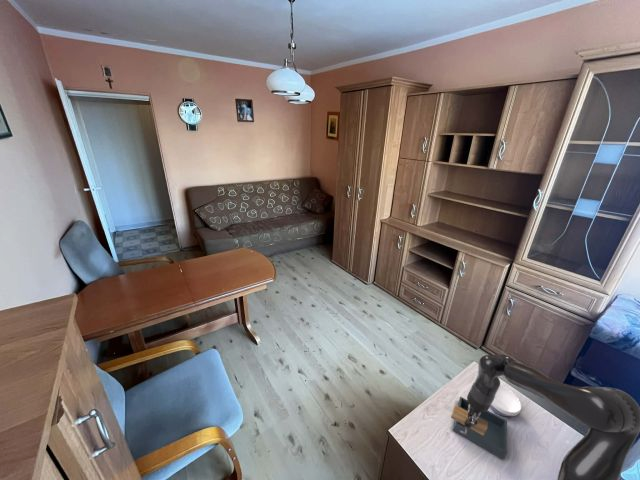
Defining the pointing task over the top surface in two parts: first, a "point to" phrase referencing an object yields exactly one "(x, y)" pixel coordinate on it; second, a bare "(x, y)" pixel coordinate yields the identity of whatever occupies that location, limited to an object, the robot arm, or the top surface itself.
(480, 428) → the wooden block
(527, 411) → the top surface
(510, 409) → the bowl
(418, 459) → the top surface
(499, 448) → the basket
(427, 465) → the top surface
